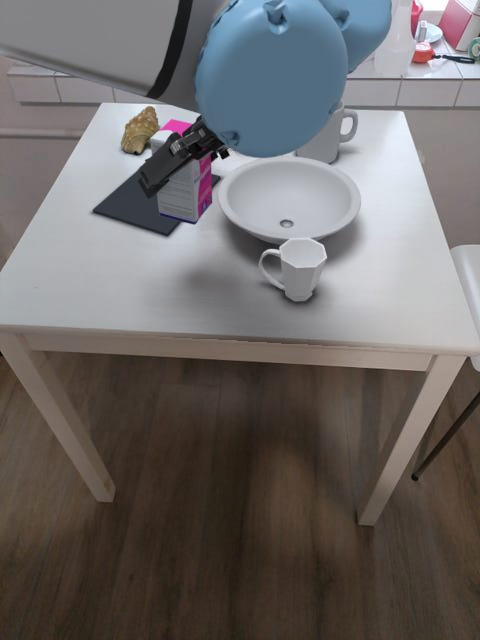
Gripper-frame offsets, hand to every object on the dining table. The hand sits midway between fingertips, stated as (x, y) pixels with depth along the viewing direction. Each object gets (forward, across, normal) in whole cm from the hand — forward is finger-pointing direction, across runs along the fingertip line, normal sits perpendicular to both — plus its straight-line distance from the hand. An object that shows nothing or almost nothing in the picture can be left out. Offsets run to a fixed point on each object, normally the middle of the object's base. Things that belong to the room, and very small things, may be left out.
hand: (168, 177), depth 67 cm
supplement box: (0, 0, -5) cm, 5 cm away
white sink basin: (+9, +21, -15) cm, 27 cm away
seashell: (+38, +20, +15) cm, 45 cm away
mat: (+25, +10, +2) cm, 27 cm away
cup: (+1, +9, -23) cm, 25 cm away
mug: (+16, +44, -7) cm, 47 cm away
